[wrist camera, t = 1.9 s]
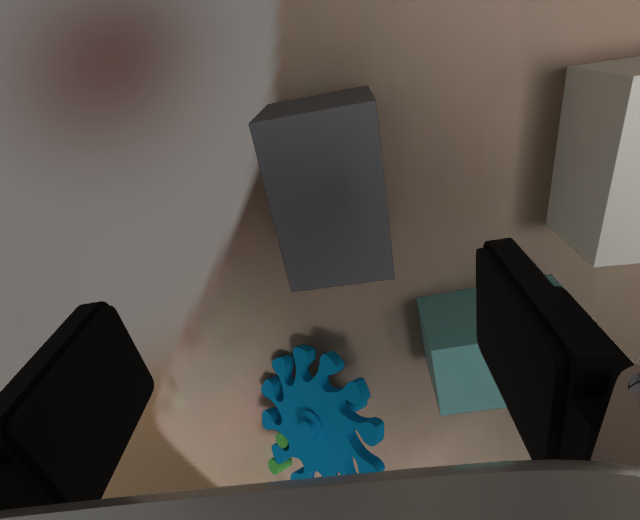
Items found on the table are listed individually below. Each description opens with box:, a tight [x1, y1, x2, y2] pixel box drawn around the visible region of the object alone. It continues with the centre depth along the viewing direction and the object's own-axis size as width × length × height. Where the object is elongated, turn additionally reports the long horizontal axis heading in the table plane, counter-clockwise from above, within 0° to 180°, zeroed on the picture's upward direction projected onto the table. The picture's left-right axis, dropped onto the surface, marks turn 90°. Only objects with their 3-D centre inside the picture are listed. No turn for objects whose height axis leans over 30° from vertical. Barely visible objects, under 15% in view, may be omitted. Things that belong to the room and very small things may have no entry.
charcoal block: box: [249, 86, 395, 292], centre depth 20 cm, size 8×5×5 cm, turn 10°
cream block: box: [546, 56, 640, 268], centre depth 18 cm, size 8×5×5 cm, turn 8°
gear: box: [261, 345, 385, 480], centre depth 28 cm, size 11×6×10 cm
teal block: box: [416, 274, 562, 416], centre depth 24 cm, size 8×5×5 cm, turn 104°
